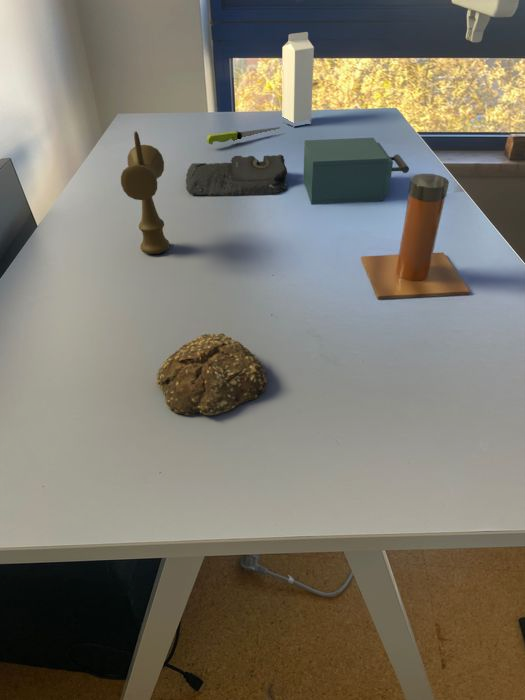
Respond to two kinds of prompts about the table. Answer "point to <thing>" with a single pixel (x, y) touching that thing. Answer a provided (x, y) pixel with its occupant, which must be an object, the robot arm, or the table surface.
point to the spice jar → (421, 225)
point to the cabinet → (344, 170)
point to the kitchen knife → (234, 135)
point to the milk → (297, 78)
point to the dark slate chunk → (238, 176)
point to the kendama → (146, 193)
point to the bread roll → (210, 376)
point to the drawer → (393, 169)
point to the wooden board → (392, 286)
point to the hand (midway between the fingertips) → (473, 41)
